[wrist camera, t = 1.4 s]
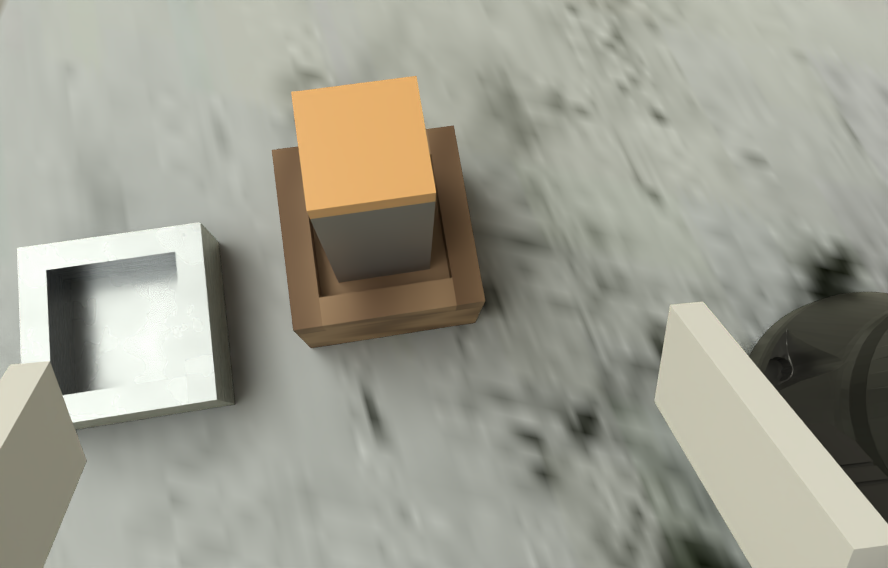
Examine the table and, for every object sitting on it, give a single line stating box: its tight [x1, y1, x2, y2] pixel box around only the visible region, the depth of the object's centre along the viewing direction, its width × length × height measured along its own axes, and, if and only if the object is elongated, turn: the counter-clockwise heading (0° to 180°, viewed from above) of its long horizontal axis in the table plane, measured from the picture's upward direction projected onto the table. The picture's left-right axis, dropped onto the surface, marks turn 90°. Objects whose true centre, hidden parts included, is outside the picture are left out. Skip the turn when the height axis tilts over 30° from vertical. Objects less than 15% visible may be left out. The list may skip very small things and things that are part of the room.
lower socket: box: [17, 222, 235, 430], centre depth 41 cm, size 10×10×4 cm
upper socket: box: [272, 126, 485, 348], centre depth 42 cm, size 10×10×6 cm
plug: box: [291, 76, 436, 283], centre depth 34 cm, size 5×5×12 cm
